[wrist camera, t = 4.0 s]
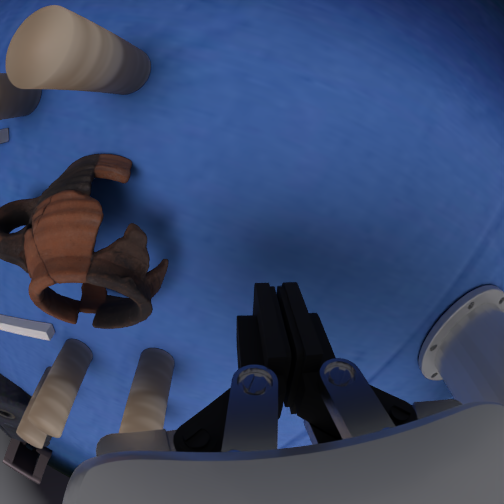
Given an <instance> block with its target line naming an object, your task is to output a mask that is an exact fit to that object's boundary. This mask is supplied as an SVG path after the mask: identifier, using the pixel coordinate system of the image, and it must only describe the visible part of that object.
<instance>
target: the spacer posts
mask: <svg viewBox="0 0 504 504" xmlns="http://www.w3.org/2000/svg"><path fill="white" fill-rule="evenodd" d="M150 70H151V64H150V60H149V57H148V56H147V54H146V53H145V52H143V51H142V50H140V49H139V48H137V47H135V46H134V45H132V44H131V43H129V42H127V41H125V40H124V39H122V38H120V37H119V36H117V35H115V34H113V33H112V32H110V31H108V30H106V29H104V28H103V27H101V26H99V25H97V24H95V23H93V22H91V21H90V20H88V19H86V18H84V17H82V16H80V15H78V14H76V13H74V12H72V11H70V10H68V9H66V8H63V7H61V6H56V5H52V6H46V7H44V8H41V9H39V10H37V11H36V12H34V13H33V14H32V15H30V16H29V17H28V18H27V19H26V20H25V21H24V22H23V23H22V24H21V25H20V27H19V28H18V29H17V31H16V33H15V34H14V36H13V38H12V40H11V42H10V45H9V48H8V51H7V56H6V72H7V73H0V120H2V119H8V118H14V117H21V116H26V115H29V114H30V113H32V112H33V111H34V109H35V108H36V107H37V105H38V103H39V100H40V97H41V91H42V89H59V90H78V91H91V92H102V93H112V94H121V95H125V94H130V93H133V92H135V91H137V90H138V89H139V88H141V87H142V86H143V85H144V83H145V82H146V81H147V79H148V77H149V74H150ZM92 357H93V355H92V352H91V350H90V349H89V348H88V347H87V346H86V345H85V344H84V343H82V342H81V341H79V340H76V339H68V340H67V341H66V342H65V344H64V346H63V347H62V349H61V351H60V353H59V355H58V356H57V358H56V360H55V362H54V364H53V366H52V367H47V368H46V370H45V372H44V374H43V376H42V378H41V380H40V382H39V384H38V386H37V388H36V390H35V392H34V394H33V396H32V398H31V400H30V402H29V404H28V406H27V408H26V410H25V412H24V415H23V417H22V419H21V421H20V424H19V426H18V428H17V431H16V433H17V434H18V435H19V436H20V437H21V438H22V439H23V440H24V441H26V442H27V443H29V444H31V445H32V446H34V447H37V448H40V449H42V448H43V445H44V442H45V439H46V437H47V435H50V436H52V437H56V438H59V437H61V434H62V431H63V429H64V426H65V423H66V421H67V418H68V415H69V413H70V410H71V407H72V405H73V402H74V400H75V397H76V395H77V393H78V390H79V388H80V385H81V383H82V381H83V378H84V376H85V374H86V371H87V369H88V367H89V364H90V362H91V360H92ZM173 368H174V359H173V357H172V356H171V355H170V354H169V353H167V352H166V351H164V350H161V349H157V348H148V349H146V350H144V351H143V352H142V353H141V356H140V359H139V363H138V366H137V369H136V372H135V376H134V379H133V383H132V386H131V389H130V393H129V397H128V400H127V404H126V407H125V411H124V415H123V419H122V422H121V426H120V430H119V433H131V432H142V431H152V430H160V429H163V426H164V419H165V413H166V407H167V401H168V396H169V390H170V385H171V379H172V374H173Z"/></svg>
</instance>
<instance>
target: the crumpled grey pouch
mask: <svg viewBox="0 0 504 504" xmlns="http://www.w3.org/2000/svg"><path fill="white" fill-rule="evenodd" d="M31 398H32V397H31V396H30V395H28V394H27V393H26V392H24V391H23V390H22V389H21V388H20V387H19V386H17V385H16V384H14V383H13V382H12V381H10V380H9V379H7V378H6V377H4V376H3V375H2V374H0V428H1V429H2V430H3V431H4V432H5V433H6V434H7V435H8V436H9V437H11V438H13V439H16V440H19V441H23V442H26V441H24V440H23V439H22V438H21V437H20V436H19V435H18V434H17V433H16V431H17V428H18V426H19V424H20V421H21V419H22V417H23V415H24V412H25V410H26V408H27V406H28V404H29V402H30V400H31ZM51 438H52V436H50V435H47V437H46V439H45V442H44V445H43V447H46V446H48V444H50V442H49V441H50V440H51Z"/></svg>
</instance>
